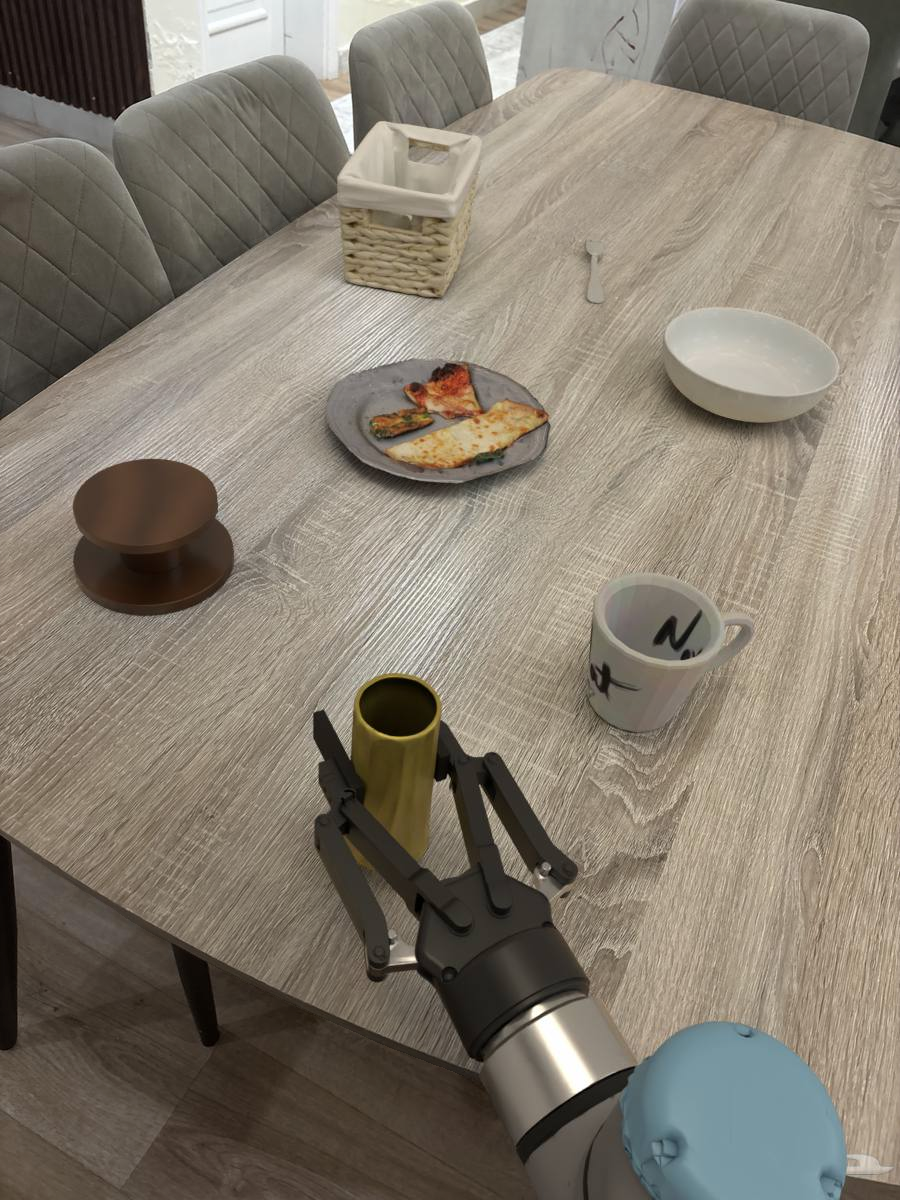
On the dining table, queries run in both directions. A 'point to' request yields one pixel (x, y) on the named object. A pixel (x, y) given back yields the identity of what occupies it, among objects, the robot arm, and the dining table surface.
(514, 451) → the food plate
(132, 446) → the dining table surface
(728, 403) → the serving bowl
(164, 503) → the stand
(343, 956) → the dining table surface
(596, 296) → the fork
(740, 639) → the mug
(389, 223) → the basket
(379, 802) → the vase
